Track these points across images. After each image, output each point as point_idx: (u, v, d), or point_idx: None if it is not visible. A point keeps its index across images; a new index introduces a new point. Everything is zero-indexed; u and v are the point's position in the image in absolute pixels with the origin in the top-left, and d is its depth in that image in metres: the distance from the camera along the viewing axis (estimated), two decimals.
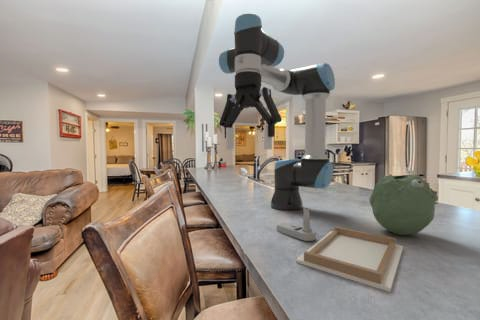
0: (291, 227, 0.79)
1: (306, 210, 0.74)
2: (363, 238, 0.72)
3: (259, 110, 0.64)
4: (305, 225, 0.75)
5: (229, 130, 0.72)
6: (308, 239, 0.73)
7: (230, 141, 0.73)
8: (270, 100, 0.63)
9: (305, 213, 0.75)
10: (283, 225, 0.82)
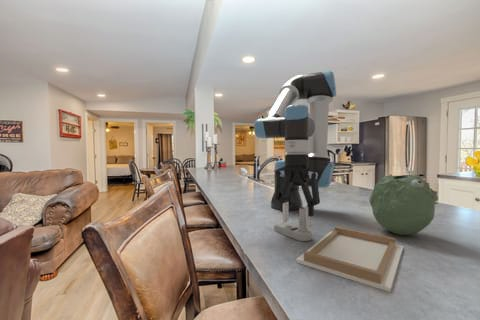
0: (288, 227, 0.79)
1: (302, 210, 0.75)
2: (363, 238, 0.72)
3: (304, 191, 0.75)
4: (301, 225, 0.75)
5: (285, 205, 0.80)
6: (303, 239, 0.73)
7: (286, 215, 0.80)
8: (315, 185, 0.74)
9: (301, 213, 0.75)
10: (280, 225, 0.82)
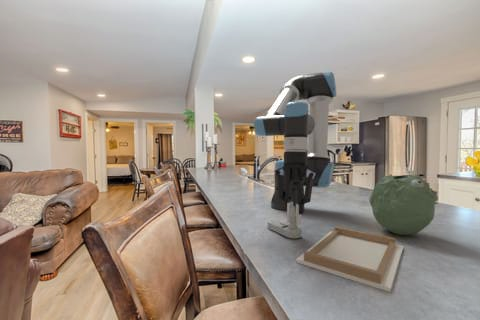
0: (279, 224, 0.81)
1: (292, 208, 0.76)
2: (363, 238, 0.72)
3: (298, 188, 0.76)
4: (291, 223, 0.76)
5: (290, 205, 0.79)
6: (292, 236, 0.75)
7: None
8: (310, 184, 0.74)
9: (291, 211, 0.76)
10: (273, 222, 0.84)
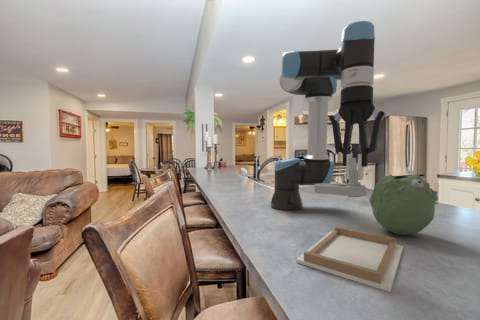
0: (333, 185, 0.65)
1: (352, 159, 0.60)
2: (363, 238, 0.72)
3: (361, 134, 0.60)
4: (352, 178, 0.61)
5: (350, 157, 0.62)
6: (357, 194, 0.59)
7: None
8: (379, 127, 0.58)
9: (351, 163, 0.61)
10: (323, 184, 0.68)
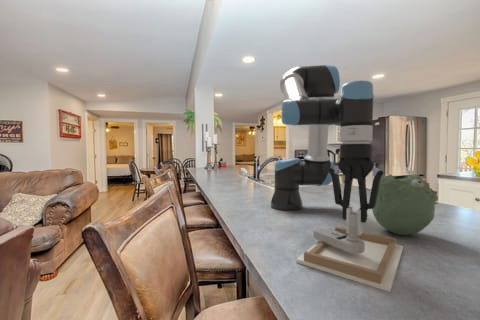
0: (332, 235, 0.66)
1: (353, 216, 0.61)
2: (363, 238, 0.72)
3: (360, 190, 0.61)
4: (351, 234, 0.61)
5: (350, 211, 0.63)
6: (355, 251, 0.59)
7: None
8: (378, 185, 0.59)
9: (352, 219, 0.61)
10: (322, 231, 0.69)
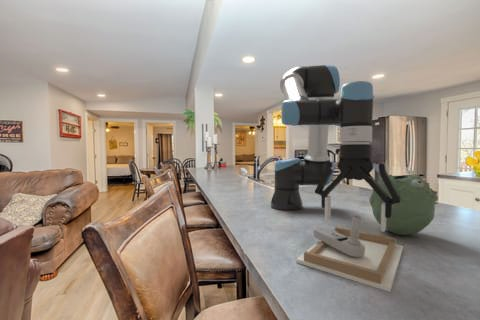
0: (333, 235, 0.66)
1: (357, 219, 0.60)
2: (363, 238, 0.72)
3: (374, 187, 0.59)
4: (353, 237, 0.61)
5: (328, 200, 0.66)
6: (355, 255, 0.59)
7: (328, 211, 0.67)
8: (388, 178, 0.57)
9: (355, 223, 0.61)
10: (322, 231, 0.68)
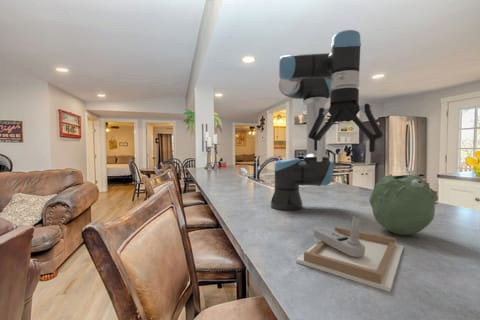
0: (333, 236, 0.66)
1: (357, 219, 0.60)
2: (363, 238, 0.72)
3: (360, 126, 0.66)
4: (353, 237, 0.61)
5: (320, 143, 0.74)
6: (355, 255, 0.59)
7: (320, 153, 0.75)
8: (372, 116, 0.65)
9: (355, 223, 0.61)
10: (322, 231, 0.68)
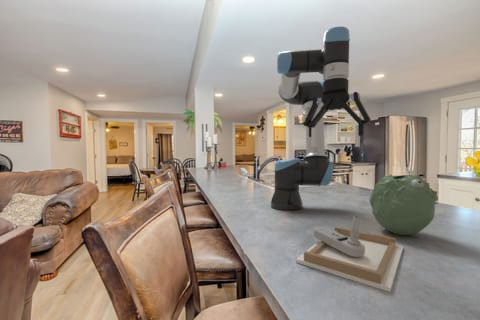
0: (333, 236, 0.66)
1: (357, 219, 0.60)
2: (363, 238, 0.72)
3: (349, 112, 0.73)
4: (353, 237, 0.61)
5: (314, 130, 0.80)
6: (355, 255, 0.59)
7: (314, 140, 0.81)
8: (361, 103, 0.71)
9: (355, 222, 0.61)
10: (322, 231, 0.68)
